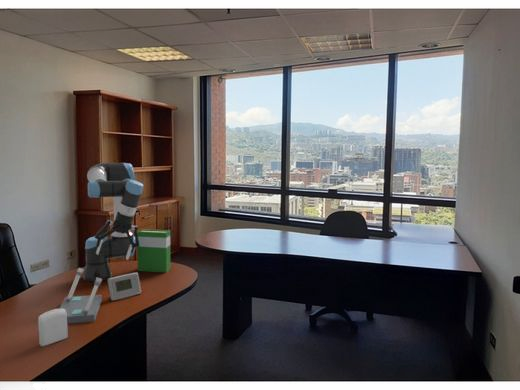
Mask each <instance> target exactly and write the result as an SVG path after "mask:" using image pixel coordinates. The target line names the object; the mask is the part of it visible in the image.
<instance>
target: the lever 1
mask: <svg viewBox="0 0 520 390" xmlns="http://www.w3.org/2000/svg"><path fill="white" fill-rule="evenodd" d="M84 271H85V268H81V267H78V268H77V270H76V273H75V278H74V280H73V282H72V285H71V288H70V290H69V292H68V295H67V296H66V297H67V299H66V301H68V302H69V301H70V300H71V298H72V296H74V293H75V290H76V288H77V285H78V282H79V280H80V278H81V276H83V273H84Z"/></svg>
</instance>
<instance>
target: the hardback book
mask: <svg viewBox="0 0 520 390" xmlns="http://www.w3.org/2000/svg"><path fill="white" fill-rule="evenodd" d="M137 235H138V240H139V246H137V271H138V272H150V273H151V272H153V273H168V272H169V271H170V270H171V229H152V228H151V229H148V228H147V229H145V228H142V229H141V230H139V231H138V230H137Z"/></svg>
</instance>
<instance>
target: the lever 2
mask: <svg viewBox="0 0 520 390" xmlns="http://www.w3.org/2000/svg"><path fill="white" fill-rule="evenodd" d="M101 284H102V279H101V278H98V277H97V278H96V281H95V282H94V283H93V285H94V286H93V288H92V291H91V294H90V298H89V300H88V303H87V305H86V308H85V310H84V314H87V313H88V310H89V308H90V306H91V303H92V301H93V298H94V296H95V295H96V293H97V291H98V289H99V287H100V286H101Z"/></svg>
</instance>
